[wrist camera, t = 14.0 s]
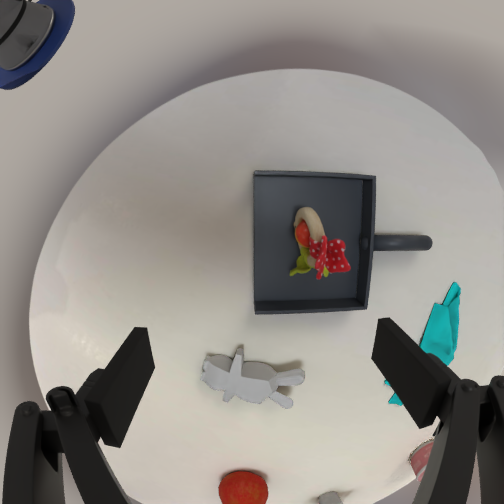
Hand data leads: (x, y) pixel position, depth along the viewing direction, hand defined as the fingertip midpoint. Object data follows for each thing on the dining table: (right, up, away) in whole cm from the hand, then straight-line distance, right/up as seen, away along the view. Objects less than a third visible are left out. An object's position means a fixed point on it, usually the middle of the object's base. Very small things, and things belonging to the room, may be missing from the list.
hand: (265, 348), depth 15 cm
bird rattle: (+6, +7, +24) cm, 25 cm away
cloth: (+33, -13, +29) cm, 46 cm away
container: (+44, -47, +36) cm, 74 cm away
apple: (-3, -46, +35) cm, 58 cm away
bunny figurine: (-1, -14, +28) cm, 31 cm away
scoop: (+13, +7, +24) cm, 28 cm away
